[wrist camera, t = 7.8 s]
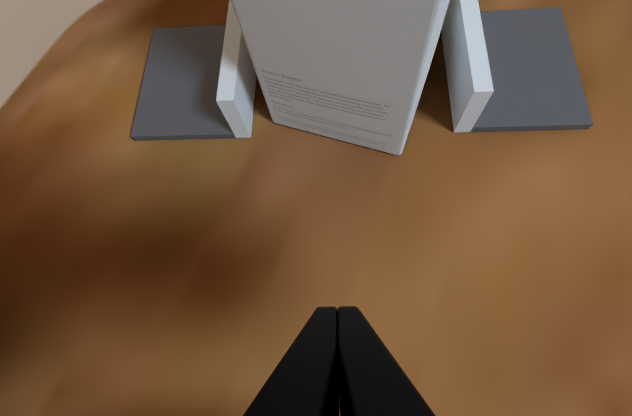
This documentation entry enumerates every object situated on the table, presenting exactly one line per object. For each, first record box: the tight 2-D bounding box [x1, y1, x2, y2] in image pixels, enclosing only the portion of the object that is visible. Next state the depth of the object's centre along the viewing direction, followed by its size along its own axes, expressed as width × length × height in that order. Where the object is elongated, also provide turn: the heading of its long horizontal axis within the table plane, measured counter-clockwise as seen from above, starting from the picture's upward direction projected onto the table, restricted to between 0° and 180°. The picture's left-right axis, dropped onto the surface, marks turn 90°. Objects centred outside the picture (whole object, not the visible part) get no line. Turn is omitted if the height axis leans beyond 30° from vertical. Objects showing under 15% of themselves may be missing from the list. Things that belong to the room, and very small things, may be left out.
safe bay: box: [131, 0, 593, 141], centre depth 24 cm, size 10×29×4 cm, turn 89°
